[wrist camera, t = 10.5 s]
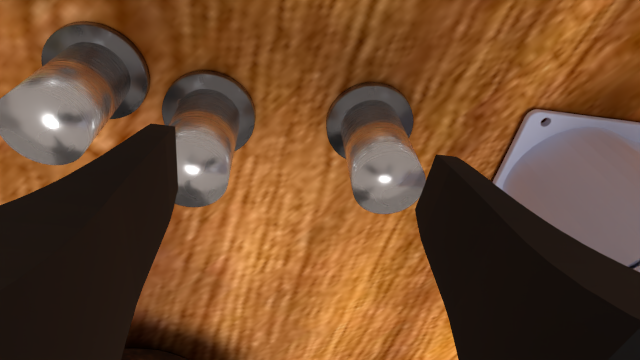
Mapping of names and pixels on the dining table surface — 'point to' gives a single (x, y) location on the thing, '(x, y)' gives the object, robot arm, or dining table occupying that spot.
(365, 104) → the spacer field
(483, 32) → the dining table surface
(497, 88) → the dining table surface
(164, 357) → the glass bottle
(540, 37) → the dining table surface
